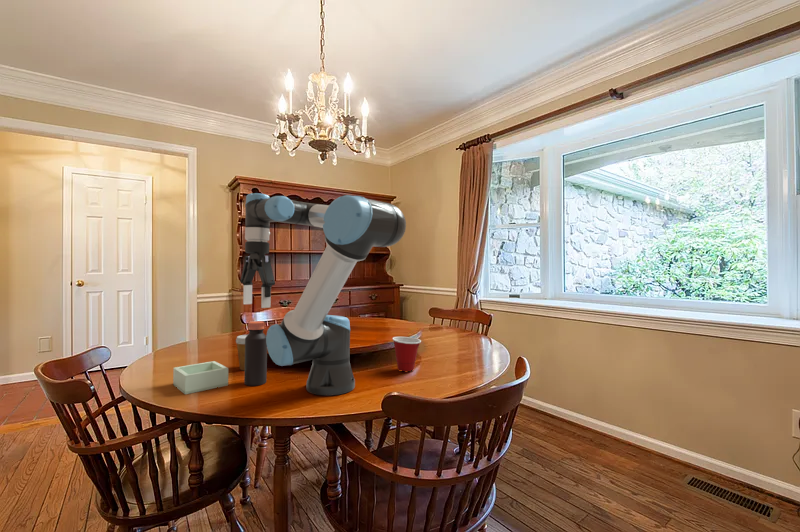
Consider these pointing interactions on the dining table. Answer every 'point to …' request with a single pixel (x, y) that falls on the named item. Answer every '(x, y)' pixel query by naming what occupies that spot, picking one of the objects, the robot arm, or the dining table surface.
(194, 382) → the open rectangular box
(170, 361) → the dining table surface
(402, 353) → the plastic cup
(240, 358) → the disposable coffee cup
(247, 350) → the vinegar
